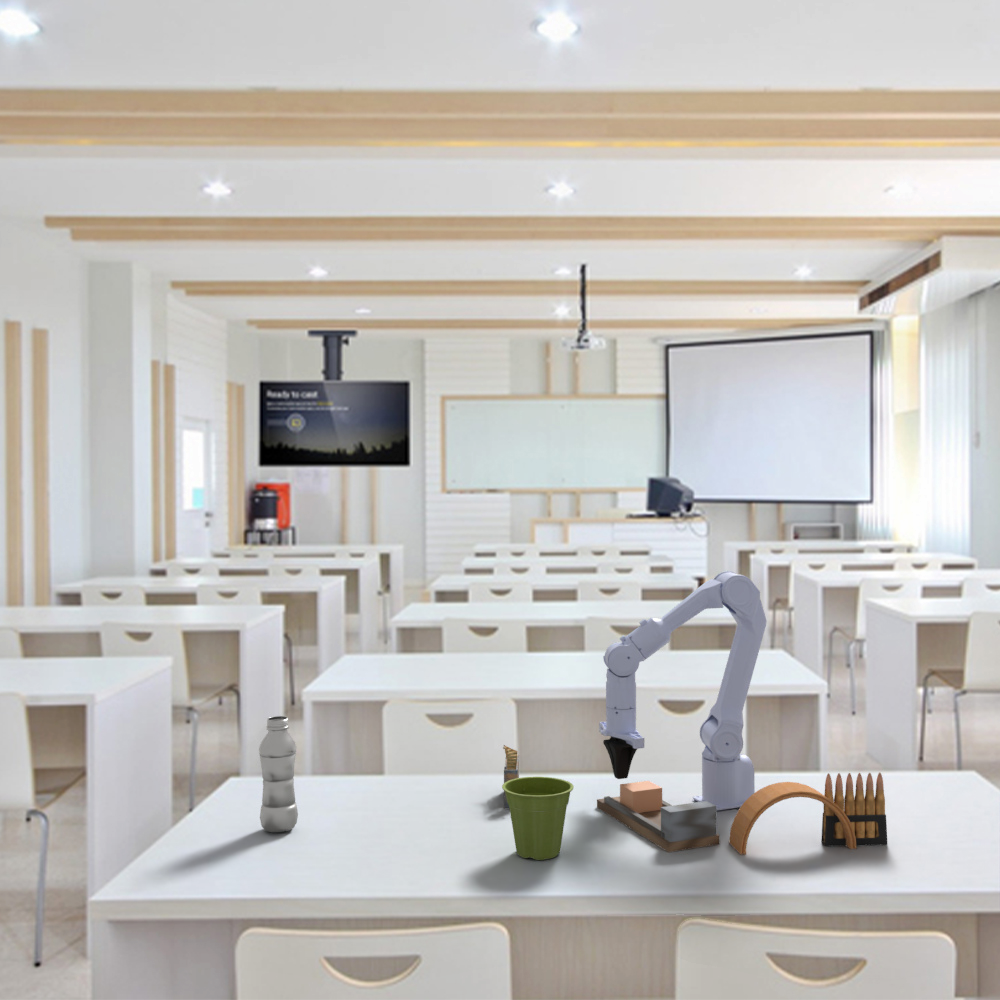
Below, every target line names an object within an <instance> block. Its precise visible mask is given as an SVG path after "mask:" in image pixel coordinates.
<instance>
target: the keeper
mask: <svg viewBox="0 0 1000 1000" xmlns="http://www.w3.org/2000/svg"><path fill="white" fill-rule="evenodd" d="M619 796H620V803H621V804H623V805H625V806H626V807H628V808H630V809H631V810H633V811H635V812H636V813H643V812H650V811H657V810H661V807H662V800H663V787H661V786H660V785H657V784H656V783H655V782H652V781H650V780H644V781H637V782H630V783H629V782H627V783H621V784H619Z"/></svg>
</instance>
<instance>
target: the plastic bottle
mask: <svg viewBox="0 0 1000 1000" xmlns="http://www.w3.org/2000/svg"><path fill="white" fill-rule="evenodd" d="M288 729H290V725H289V717H288V716H286V715H276V716H270V717H267V720H266V731H267V733H266V735H265V736H264V738H263V739H262V741H261V742H260V745H259V748H258V753H259V760H260V766H261V773H262V797H261V799H262V800H261V805H260V807H261V808H260V814H259V820H260V825H261V827H262V828H263V830H264V831H265V832H270V833H282V832H283V833H284V832H287V831H291V830H292V829H294V828H295V827H296V825H297V822H298V818H299V813H298V806H297V802H296V795H295V793H296V792H295V786H294V785H295V784H294V783H295V782H294V781H295V779H294V777H295V763H296V755H297V744H296V742H295V739H294V738H293V736H292V735H291V734H290V733H289V731H288Z"/></svg>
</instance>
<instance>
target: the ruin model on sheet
mask: <svg viewBox="0 0 1000 1000" xmlns="http://www.w3.org/2000/svg"><path fill="white" fill-rule="evenodd" d="M502 749H503V750H504V753H505V763H504V769H503V784H504V783H505V782H507V781H509V780H512V779H516V778H520V755H519V754H518V750H516V749H513V748H510V747H509V746H507V745H505V744H503V747H502ZM503 809H509V804H508V803H507V797H506V792H505V791H504V790H503Z"/></svg>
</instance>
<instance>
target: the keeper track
mask: <svg viewBox="0 0 1000 1000" xmlns="http://www.w3.org/2000/svg"><path fill="white" fill-rule="evenodd" d="M596 807H597V809H599V810H600V809H601V811H602V812H603V813H605V814H607V815H608V816H610V817H612V818H613V819H615V820H616V821H618V822H620V823H621V824H623V825H624V826H626V827H628V828H629V829H631V830H632V831H634V832H635V833H637V834H639V835H640V836H642V837H643V838H645V839H647V840H649V841H650V842H651V843H654V844H655V845H656V846H658V847H659V848H661V849H662V850H664V851H665V852H667V853H672V852H673V853H674V852H678V851H684V850H692V849H697V848H703V847H709V846H716V845H721V844H720V842H721V838H720V834H718V833H717V811H716V805H714V804H712V803H710V802H708V801H702V802H697V801H695V802H690V803H689V802H687V803H682V804H675V805H673V804H670V803H669V802H666V801H665V800H663V799H662V807H661V810H657V811H650V812H643V813H636V812H635V811H633V810H631V809H630V808H628V807H626V806H625V805H623V804H621V803H620V795H619V796H614V797H613V796H610V795H608V796H604V797H603V798H598V799H596Z"/></svg>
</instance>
